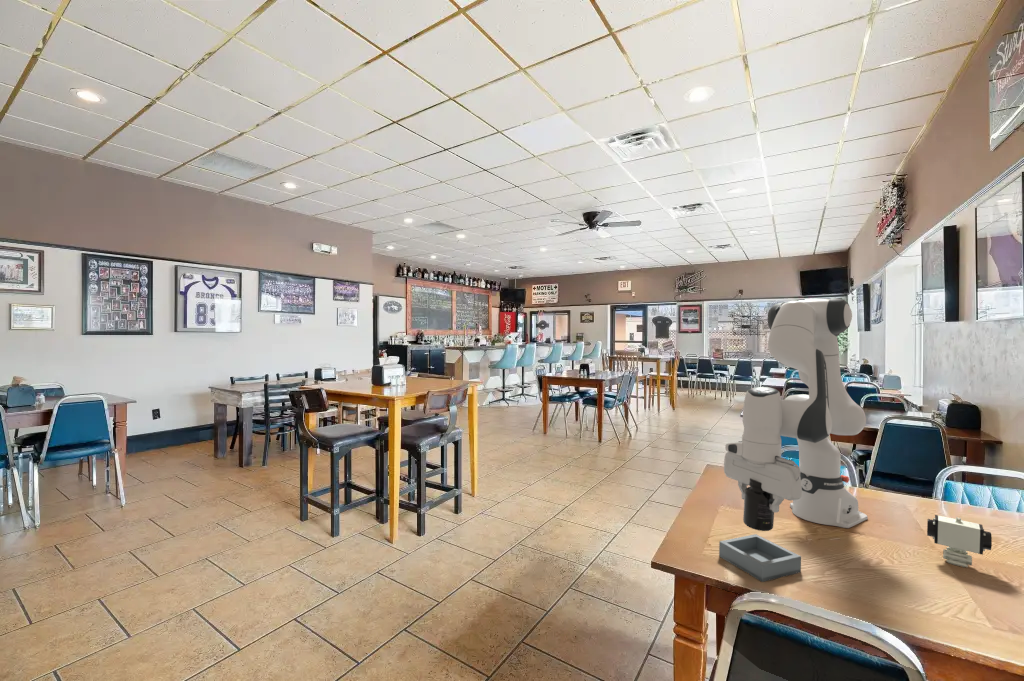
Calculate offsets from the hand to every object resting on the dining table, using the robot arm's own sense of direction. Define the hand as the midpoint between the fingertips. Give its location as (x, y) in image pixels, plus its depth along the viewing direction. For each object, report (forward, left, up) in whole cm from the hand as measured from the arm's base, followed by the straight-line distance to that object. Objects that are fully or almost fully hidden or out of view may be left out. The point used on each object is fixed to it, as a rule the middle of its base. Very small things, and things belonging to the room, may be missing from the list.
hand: (759, 505), depth 115 cm
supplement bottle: (0, 0, -6) cm, 6 cm away
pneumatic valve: (-50, +17, -15) cm, 55 cm away
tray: (0, 0, -15) cm, 15 cm away
